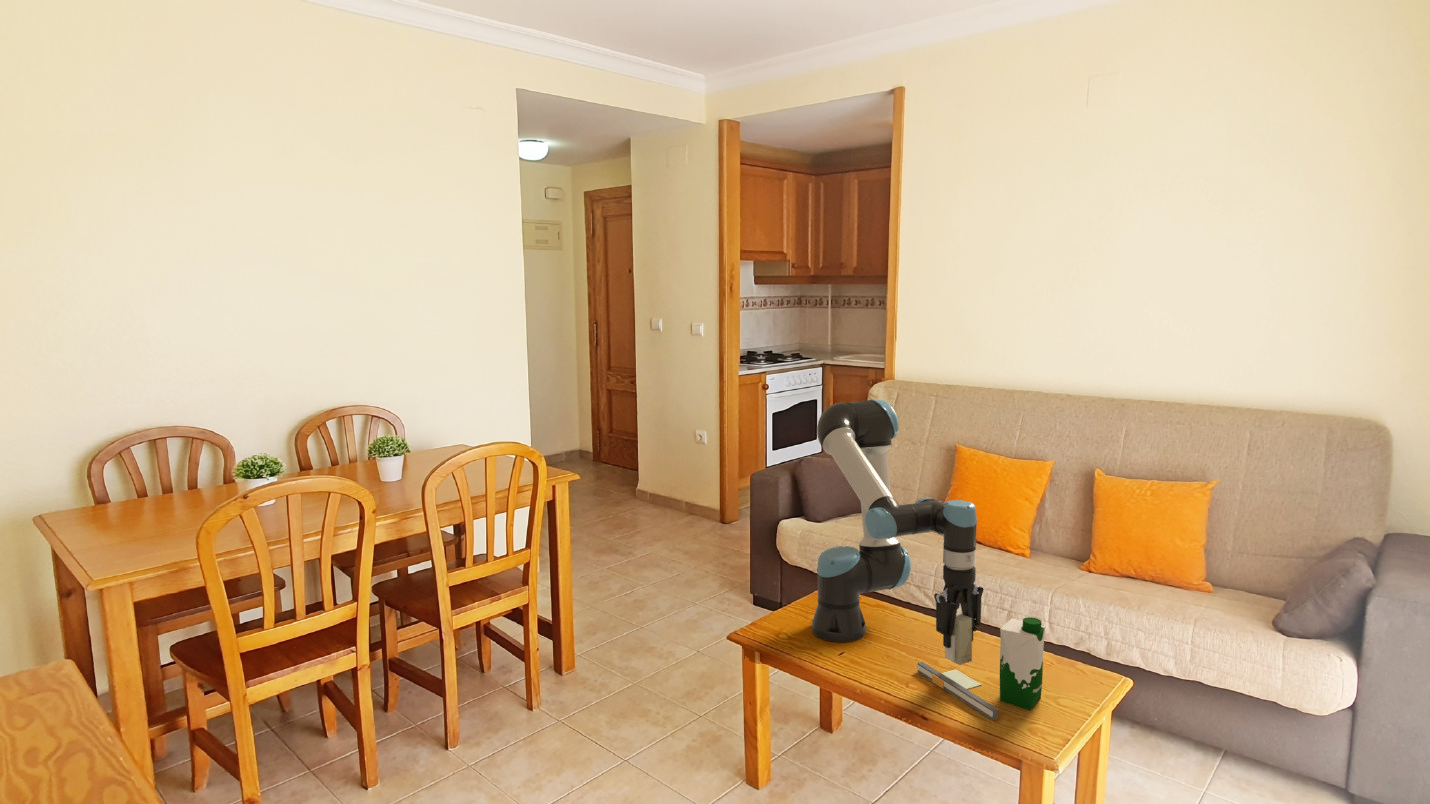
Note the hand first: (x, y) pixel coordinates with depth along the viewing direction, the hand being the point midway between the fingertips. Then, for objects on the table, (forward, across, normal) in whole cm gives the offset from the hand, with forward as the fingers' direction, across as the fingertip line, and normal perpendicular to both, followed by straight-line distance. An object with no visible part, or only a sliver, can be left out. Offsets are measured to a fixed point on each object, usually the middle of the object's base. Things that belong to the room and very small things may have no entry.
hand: (958, 656), depth 200 cm
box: (+1, 0, 0) cm, 1 cm away
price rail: (+6, -5, -5) cm, 9 cm away
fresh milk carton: (+7, +6, -14) cm, 17 cm away
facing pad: (+6, 0, 0) cm, 6 cm away
